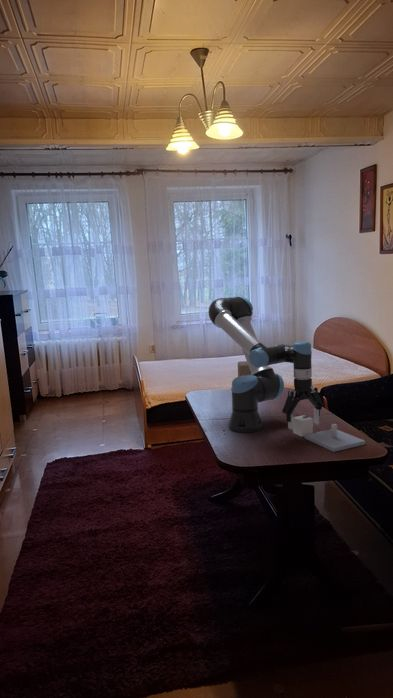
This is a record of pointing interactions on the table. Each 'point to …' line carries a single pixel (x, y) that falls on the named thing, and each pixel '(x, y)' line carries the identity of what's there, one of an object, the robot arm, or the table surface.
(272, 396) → the robot arm
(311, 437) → the plate
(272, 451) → the table surface
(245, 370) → the wooden block
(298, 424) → the white box
